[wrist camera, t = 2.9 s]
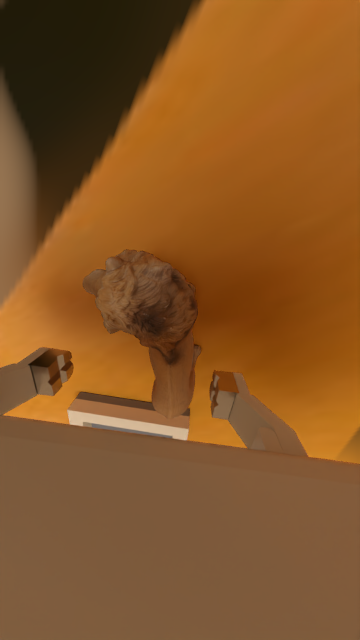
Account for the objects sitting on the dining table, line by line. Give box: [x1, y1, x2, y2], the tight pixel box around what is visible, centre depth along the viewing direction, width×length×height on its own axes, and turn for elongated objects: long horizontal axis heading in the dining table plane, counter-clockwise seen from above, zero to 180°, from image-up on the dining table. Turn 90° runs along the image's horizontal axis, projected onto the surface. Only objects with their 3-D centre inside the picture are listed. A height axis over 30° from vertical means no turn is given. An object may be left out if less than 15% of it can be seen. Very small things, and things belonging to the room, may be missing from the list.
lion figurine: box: [83, 249, 201, 419], centre depth 13 cm, size 15×5×9 cm, turn 13°
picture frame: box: [67, 392, 190, 440], centre depth 25 cm, size 13×21×2 cm, turn 173°
